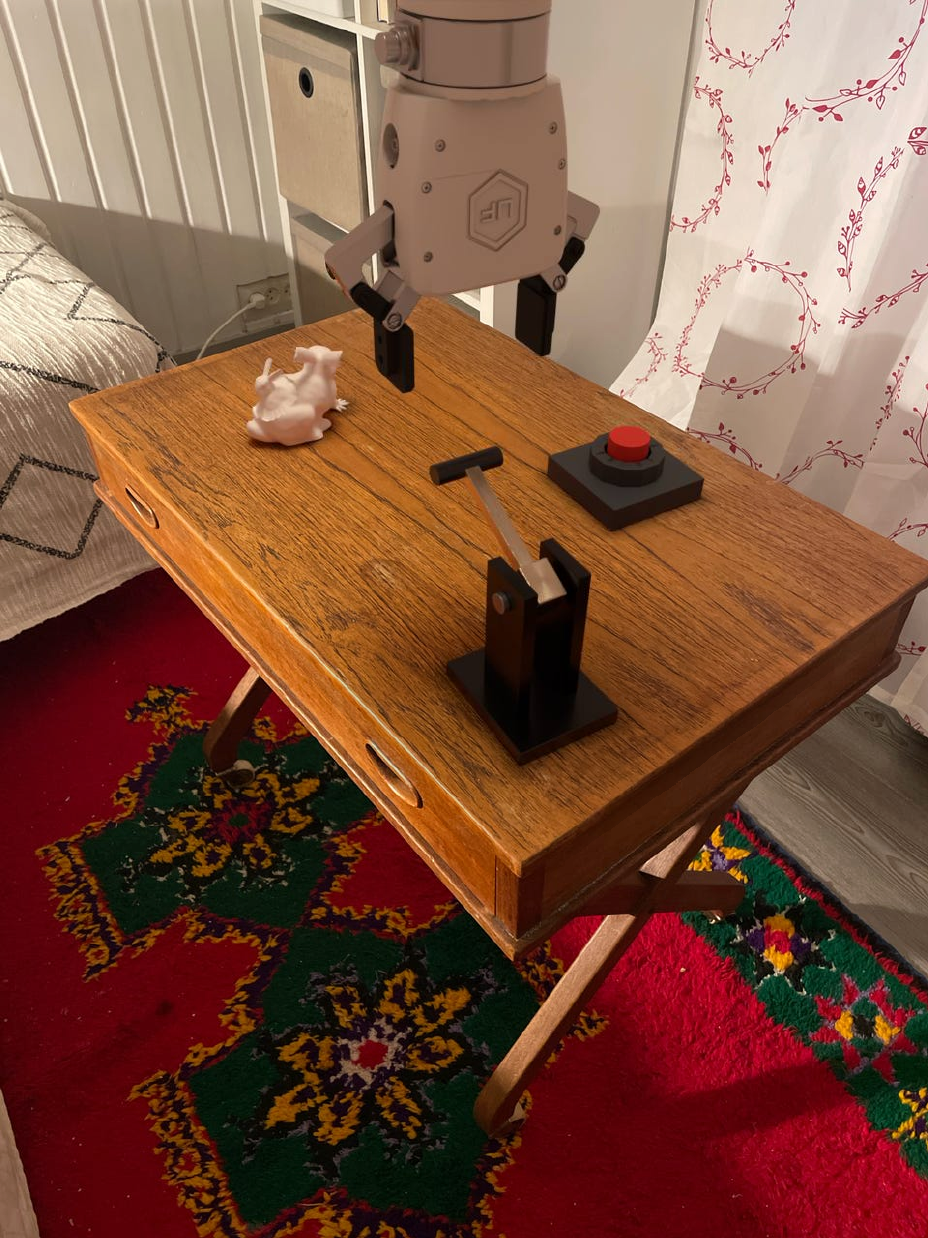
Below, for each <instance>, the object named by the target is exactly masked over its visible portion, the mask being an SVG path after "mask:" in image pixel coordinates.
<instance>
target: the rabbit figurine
mask: <svg viewBox="0 0 928 1238" xmlns="http://www.w3.org/2000/svg"><path fill="white" fill-rule="evenodd" d="M343 354H344V351H343V350H338V351H337V350H333V351H332V350H331V349H330V348H328V347H326V346H323V345H312V346H311V347H309V348H307V347H302V346H299V347H298V346H295V350H294V354H293V355H294V356H293V359H292V363H297V364H298V363H303V366H302V368H301V370H300V371H298V372H294V373H283V372H284V370H283V369H282V368H278V369H277V370H275V371H273V372H271V373H270V374H269V372H270V369H271V366H272V364H273V359H272V358H271V357H269V358H267V359H266V361H265V364H264V367H263V371H262V374H261V375H259V376H258V377H256V379H255V383H254V392H255V394H256V395H258V396H259V401H258V402H257V403H256V404H255V405H254V406H252V416H253V417H252V418H253V419H252V420H248V421H247V422H246V431H247V433H248V434H249V435H250V436H251V437H252V438H253V439H256V440H257V441H260V442H264V443H280V444H282V445H284V446H296V445H299V444H303V443H307V442H313V441H318V440H320V439H322V438H323V437H324V435H323V432H324V431H326V430H328V429H329V428H330V427H331V426H332V422H331V421H330V419H328V418H324V417H323V415H324V414H325V413H326V412H328V411H329V410H330V409H332V410H336V411H337V412H338V413H339V412H341V413H342V410H343V411H345V410H347V408H346V406H348V405H349V404H350V401H349V402H348V401H347V400H346V399H344V400H343V398H338V399H337V395H338V389H337V384H336V381H335V376H336V373H337V369H339V368H340V367H341V366H342V365H341V357H342V355H343Z"/></svg>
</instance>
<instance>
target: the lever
mask: <svg viewBox="0 0 928 1238" xmlns="http://www.w3.org/2000/svg"><path fill="white" fill-rule="evenodd" d="M503 465H504V455H503V452H502V449H501V448H500V447H499V446H498V445H492V446H489V447H486V448H482V449H480V450H477V451H473V452H470V453H467V454H463V455H459V456H457V457H454V458H450V459H447V460H444V461H441V462H438V463H434V464H431V465H430V466H429V471H428V472H429V476H430V479H431V482H432V483H433V485H434V486H436V487H439V486H443V485H446V484H449V483H452V482H455V481H459V480H462V481H463V483H464V485H465V486H466V488H467V489H468V491H469V493H470V495H471V496H472V499H473V500H474V502H475V504H476V506H477V507H478V509H479V510H480V512H481V514H482V516H483V518H484V519H485V521H486V523H487V525H488V526H489V528H490V530H491V531H492V533H493V535H494V537H495V538H496V539H495V540H496V541H497V542H498V545H499V546H500V548H501V549H502V551H503V553H504V554H505V556H506V558H507V560H508V562H509V563H510V566H511V567H512V568H513V569H514V570H515V571H516V572H517V573H518V574H519V575H520V576H521V577H522V578H523V579H524V580H525V581H526V582H527V583H528V584H529V585H530V586H531V587H532V588H533V589H534V590H535V591H536V592H537V593H538V606H537V617H538V616H541V615H543V614H546V613H549V612H551V611H554V610H556V609H557V607H558V606H559V605H560V603H561V602H562V600H563V599H564V597H565V596H566V594H567V591H566V590H565V588H564V586H563V584H562V583H561V581H560V579H559V578H558V576H557V574H556V573H555V571H554V569H553V567H552V566H551V564H550V562H549V561H548V559H547V558H543V559H541V560H539V559H538V560H534V558H533V556H532V555H531V553H530V552H529V550H528V548H527V546H526V544H525V543H524V541H523V540H522V538H521V536H520V533H518V531H517V529H516V528H515V526H514V524H513V522H512V520H511V519H510V517H509V515H508V513H507V512H506V510H505V509H504V507H503V505H502V504H501V502H500V500H499V498H498V496H497V495H496V493H495V491H494V489H493V488H492V486H491V484H490V483H489V481H488V479H487V477H486V476H485V474H484V472H487V471H490V470H493V469H496V468H500V467H502V466H503Z"/></svg>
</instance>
